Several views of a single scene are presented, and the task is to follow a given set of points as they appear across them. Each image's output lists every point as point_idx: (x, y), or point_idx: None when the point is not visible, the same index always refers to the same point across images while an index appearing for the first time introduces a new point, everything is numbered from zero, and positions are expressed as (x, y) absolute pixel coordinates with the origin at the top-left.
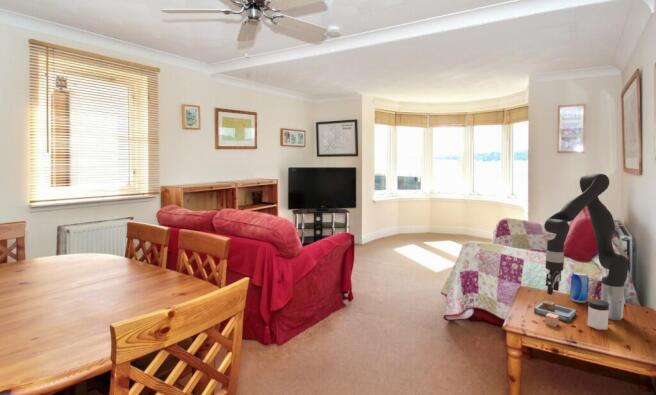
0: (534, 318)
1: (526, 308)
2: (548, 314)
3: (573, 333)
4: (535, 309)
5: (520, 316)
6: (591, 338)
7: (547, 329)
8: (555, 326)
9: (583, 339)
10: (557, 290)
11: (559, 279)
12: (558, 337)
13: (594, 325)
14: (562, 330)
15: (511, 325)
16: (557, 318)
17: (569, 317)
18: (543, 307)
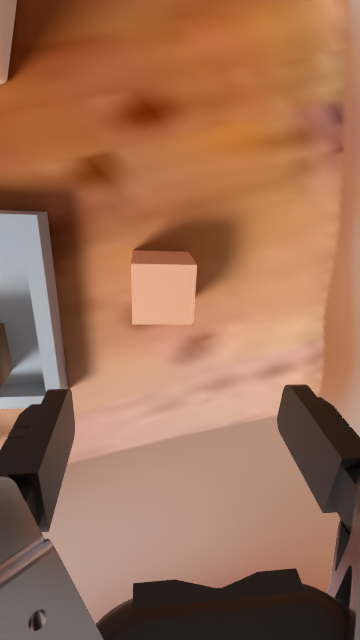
0: (149, 362)
1: None
2: (164, 316)
3: (220, 140)
4: None
5: (173, 410)
6: (228, 12)
7: (255, 272)
8: (187, 252)
9: (278, 62)
10: (69, 392)
11: (49, 571)
12: (330, 198)
13: (6, 13)
14: (216, 206)
15: None
16: (158, 260)
17: (20, 213)
18: (3, 377)
